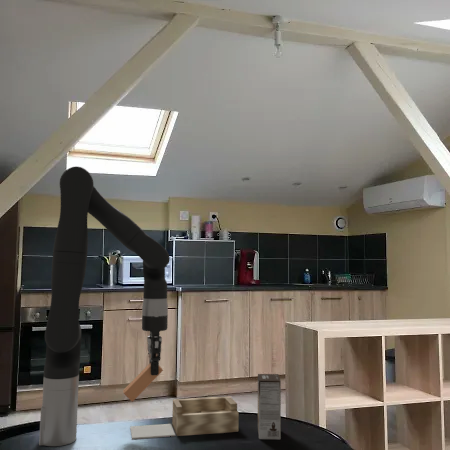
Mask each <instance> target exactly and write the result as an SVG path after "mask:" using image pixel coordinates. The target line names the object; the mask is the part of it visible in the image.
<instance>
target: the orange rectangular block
mask: <svg viewBox="0 0 450 450" xmlns="http://www.w3.org/2000/svg"><path fill="white" fill-rule="evenodd" d="M163 371H164V369H163V367H161V366H160V365H159V374H158V375H151V363H150V364H147V366H145V368H143V369H142V371H141V372H140V373H138V374H137V376H136V377H135V378H134V379H132V381H131V382H130V383H128V385H127V386H126V387H125V388H124V389H123V390H122V392H123V394H124V395H125V396H126V397H127V398H128V399H129V400H130V401H131V402H132V403H133V402H134V401H135V400H136V399H137V398H138V397H139V396H140V395H141V394H142V393H143V392H144V391H145V390H146V388H148V387H149V385H151V384H152V382H154V381H155V379H157V377H159V376H160V374H161V373H162V372H163Z"/></svg>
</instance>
